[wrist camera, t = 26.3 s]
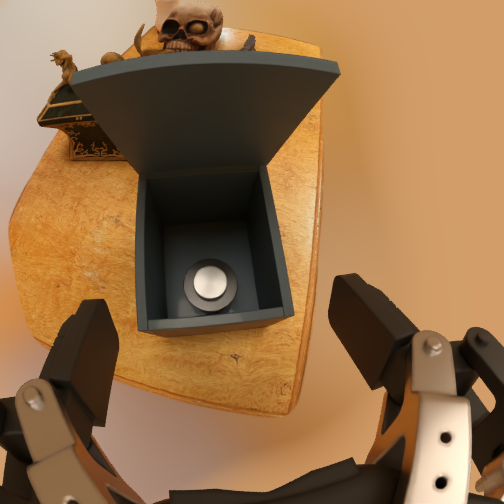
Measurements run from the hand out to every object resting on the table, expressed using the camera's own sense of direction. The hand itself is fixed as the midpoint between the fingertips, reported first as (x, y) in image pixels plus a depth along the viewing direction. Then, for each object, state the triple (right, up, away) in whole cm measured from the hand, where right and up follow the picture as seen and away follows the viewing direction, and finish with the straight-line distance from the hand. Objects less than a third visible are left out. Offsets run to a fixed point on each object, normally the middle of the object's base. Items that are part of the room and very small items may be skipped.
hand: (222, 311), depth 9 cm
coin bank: (-13, +47, +38) cm, 62 cm away
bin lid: (-2, +9, +7) cm, 12 cm away
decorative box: (-20, +19, +27) cm, 38 cm away
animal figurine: (0, +47, +40) cm, 62 cm away
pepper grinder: (-3, -3, +20) cm, 21 cm away
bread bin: (-4, -1, +22) cm, 22 cm away
